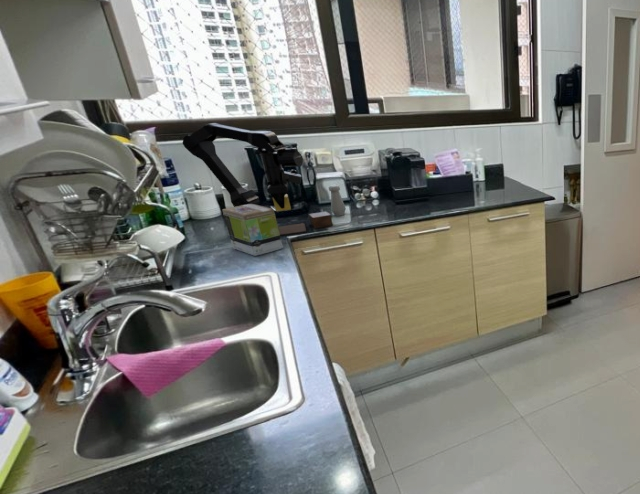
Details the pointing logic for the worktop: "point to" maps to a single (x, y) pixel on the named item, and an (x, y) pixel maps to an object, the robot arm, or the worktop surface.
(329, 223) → the walnut block
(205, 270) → the worktop surface
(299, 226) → the coaster
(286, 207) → the yellow block
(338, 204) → the salt shaker
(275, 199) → the robot arm
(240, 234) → the tea box
